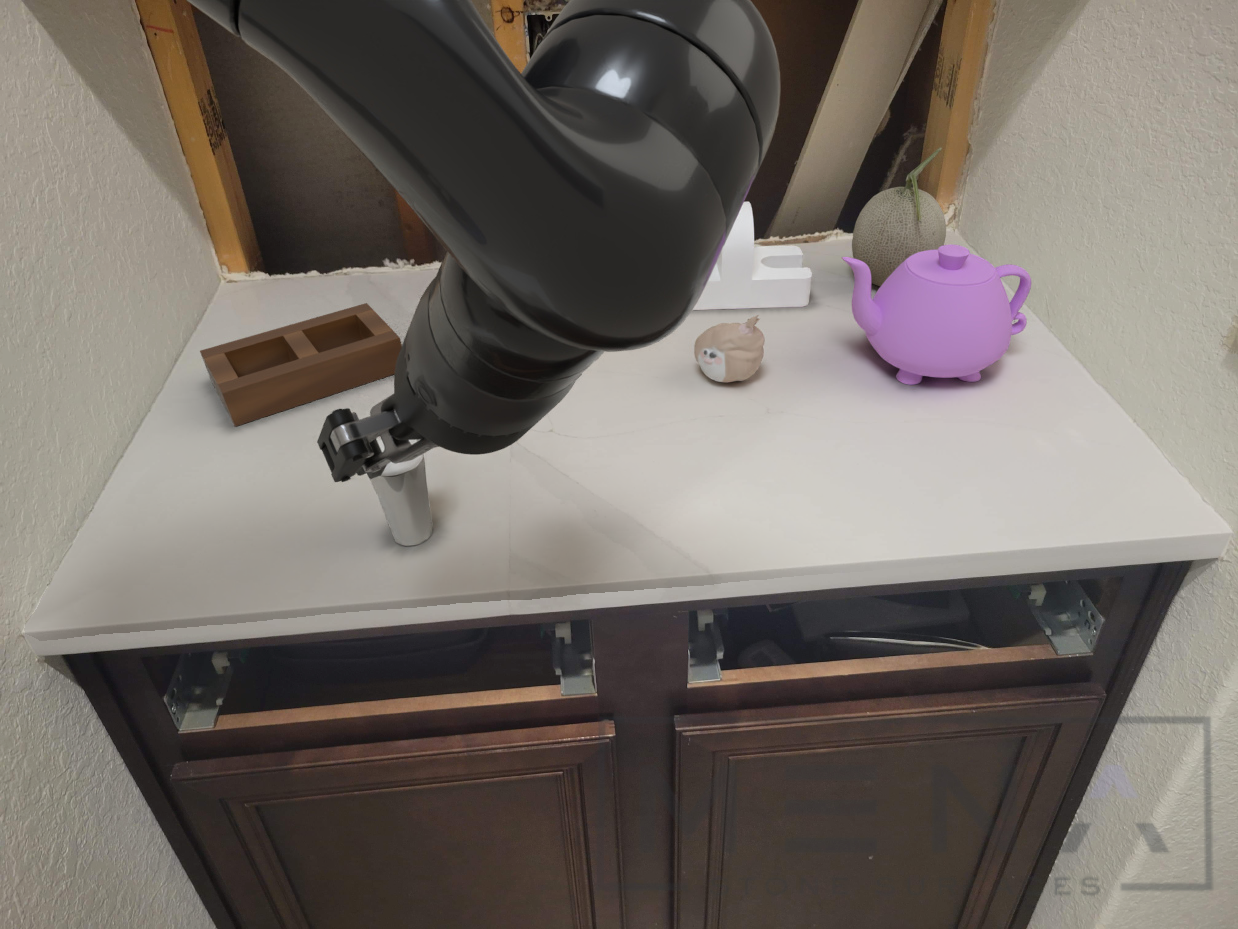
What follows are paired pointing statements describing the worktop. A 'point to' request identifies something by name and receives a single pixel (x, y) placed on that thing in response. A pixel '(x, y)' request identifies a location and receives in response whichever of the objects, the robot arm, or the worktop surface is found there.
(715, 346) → the beige round figure
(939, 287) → the teapot
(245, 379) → the tray
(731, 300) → the white slotted holder
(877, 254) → the fruit
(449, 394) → the robot arm
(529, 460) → the worktop surface
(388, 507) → the milkshake
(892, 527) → the worktop surface
